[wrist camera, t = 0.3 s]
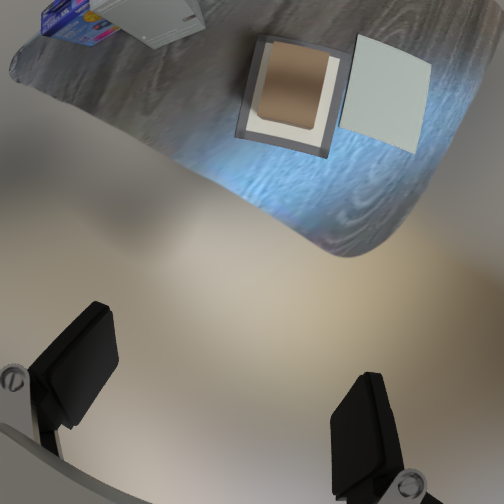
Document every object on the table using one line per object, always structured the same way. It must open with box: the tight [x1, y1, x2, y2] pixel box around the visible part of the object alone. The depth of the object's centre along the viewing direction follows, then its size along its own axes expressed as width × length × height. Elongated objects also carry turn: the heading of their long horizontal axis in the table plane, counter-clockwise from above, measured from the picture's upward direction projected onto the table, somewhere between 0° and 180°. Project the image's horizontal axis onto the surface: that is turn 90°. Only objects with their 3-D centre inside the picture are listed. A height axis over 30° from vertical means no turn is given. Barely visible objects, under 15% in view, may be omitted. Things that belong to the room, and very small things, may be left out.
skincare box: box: [90, 0, 206, 49], centre depth 20 cm, size 8×7×16 cm
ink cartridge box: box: [41, 0, 121, 47], centre depth 21 cm, size 10×6×14 cm, turn 105°
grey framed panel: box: [235, 34, 351, 159], centre depth 31 cm, size 15×12×1 cm
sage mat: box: [339, 34, 431, 154], centre depth 28 cm, size 14×11×1 cm
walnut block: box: [257, 41, 330, 130], centre depth 27 cm, size 9×6×6 cm, turn 168°
